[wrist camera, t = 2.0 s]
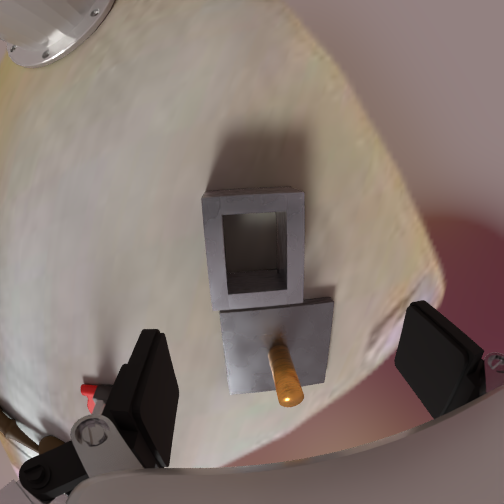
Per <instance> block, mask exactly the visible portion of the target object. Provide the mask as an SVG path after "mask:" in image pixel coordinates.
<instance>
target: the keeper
mask: <svg viewBox="0 0 504 504" xmlns="http://www.w3.org/2000/svg"><path fill="white" fill-rule="evenodd" d="M333 307H334V301H333V300H332V299H331V297H326V298H317V299H309V300H303V303H296V304H286V305H276V306H266V307H255V308H243V309H230V310H220V321H221V330H222V338H223V346H224V354H225V362H226V370H227V377H228V384H229V391H230V394H242V393H253V392H263V391H272V390H276V392H277V396H278V400H279V403H280V405H282V406H284V407H293V406H296V405H298V404H300V403H301V402H302V401H303V399H304V394H303V391H302V388H301V386H307V385H313V384H319V383H324V380H325V374H326V367H327V360H328V352H329V344H330V336H331V327H332V317H333Z"/></svg>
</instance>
